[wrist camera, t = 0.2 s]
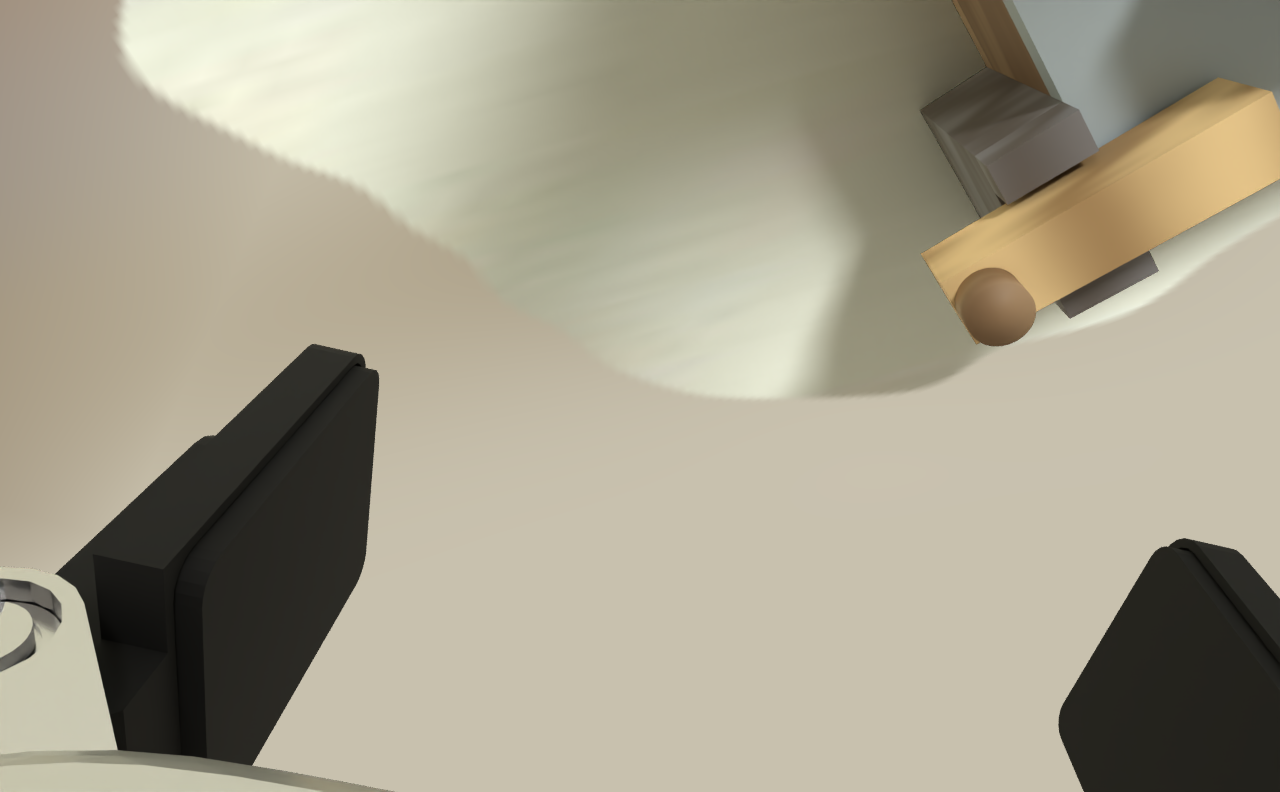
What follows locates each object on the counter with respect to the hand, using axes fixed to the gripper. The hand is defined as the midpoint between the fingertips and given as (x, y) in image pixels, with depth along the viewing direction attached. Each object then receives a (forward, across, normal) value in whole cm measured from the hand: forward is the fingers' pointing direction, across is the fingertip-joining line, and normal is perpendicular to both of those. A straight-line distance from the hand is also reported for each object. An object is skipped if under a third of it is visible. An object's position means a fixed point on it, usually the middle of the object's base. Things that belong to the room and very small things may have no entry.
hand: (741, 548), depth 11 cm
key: (+21, -11, -1) cm, 24 cm away
